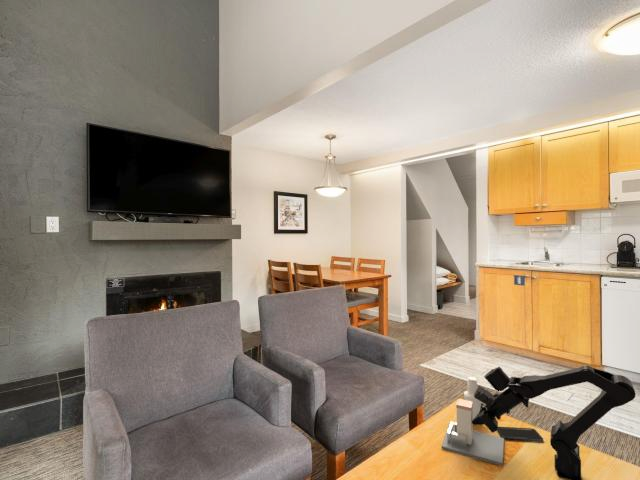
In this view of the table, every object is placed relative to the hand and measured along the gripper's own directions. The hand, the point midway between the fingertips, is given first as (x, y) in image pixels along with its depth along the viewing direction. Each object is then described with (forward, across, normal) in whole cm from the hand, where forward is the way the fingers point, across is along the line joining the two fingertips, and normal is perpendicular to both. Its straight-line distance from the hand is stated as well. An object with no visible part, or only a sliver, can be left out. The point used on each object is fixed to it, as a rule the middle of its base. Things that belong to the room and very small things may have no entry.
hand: (472, 423), depth 129 cm
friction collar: (+9, 0, +1) cm, 9 cm away
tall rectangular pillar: (+7, 0, +3) cm, 8 cm away
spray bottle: (+7, -18, +5) cm, 20 cm away
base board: (+6, 0, +6) cm, 8 cm away
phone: (-4, -15, +17) cm, 23 cm away
